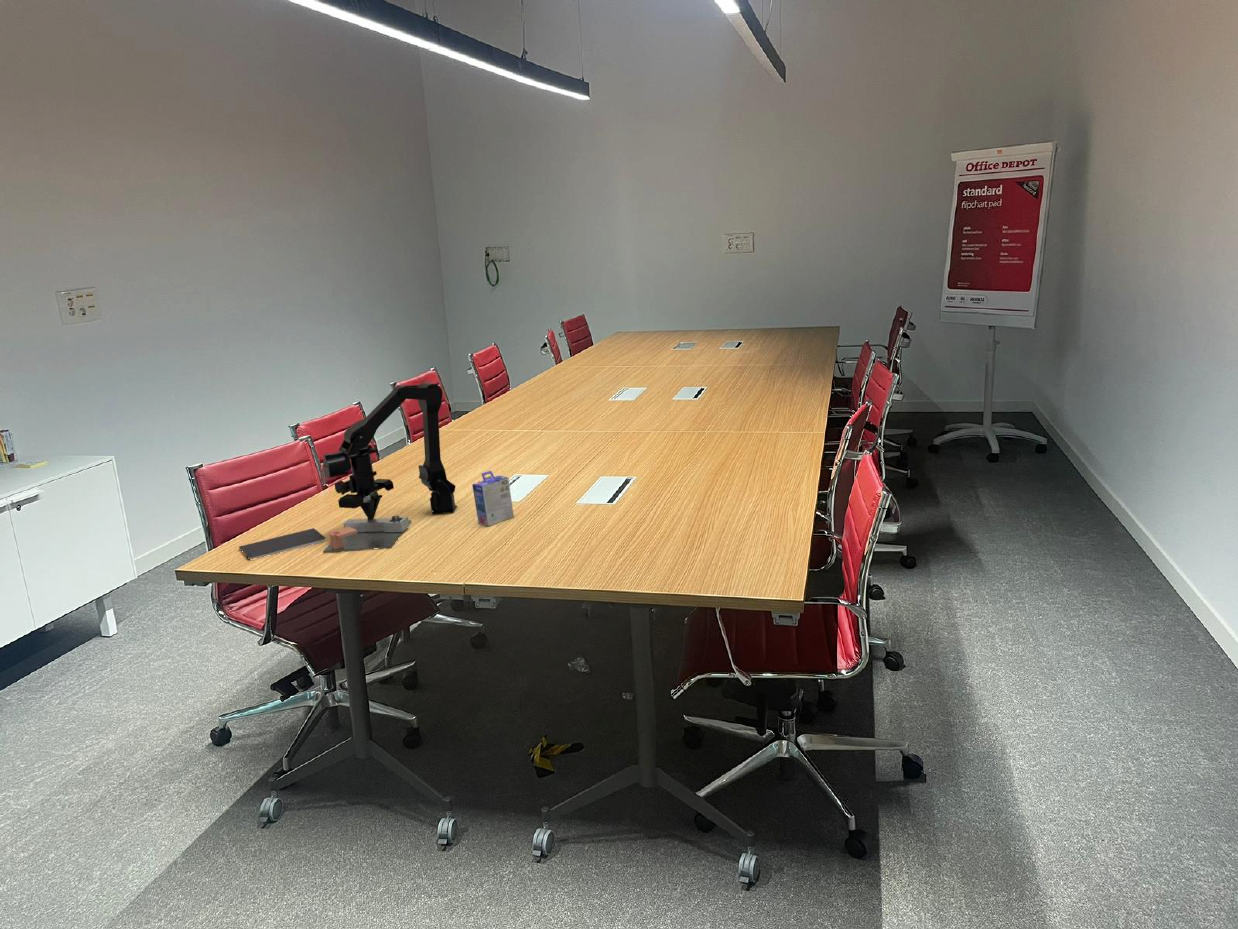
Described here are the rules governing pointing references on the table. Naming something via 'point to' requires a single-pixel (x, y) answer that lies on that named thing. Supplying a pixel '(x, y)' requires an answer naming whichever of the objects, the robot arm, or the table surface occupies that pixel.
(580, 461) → the table surface
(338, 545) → the keeper
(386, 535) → the pintle plate
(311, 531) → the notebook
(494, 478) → the ink cartridge box
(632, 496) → the table surface
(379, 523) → the link
